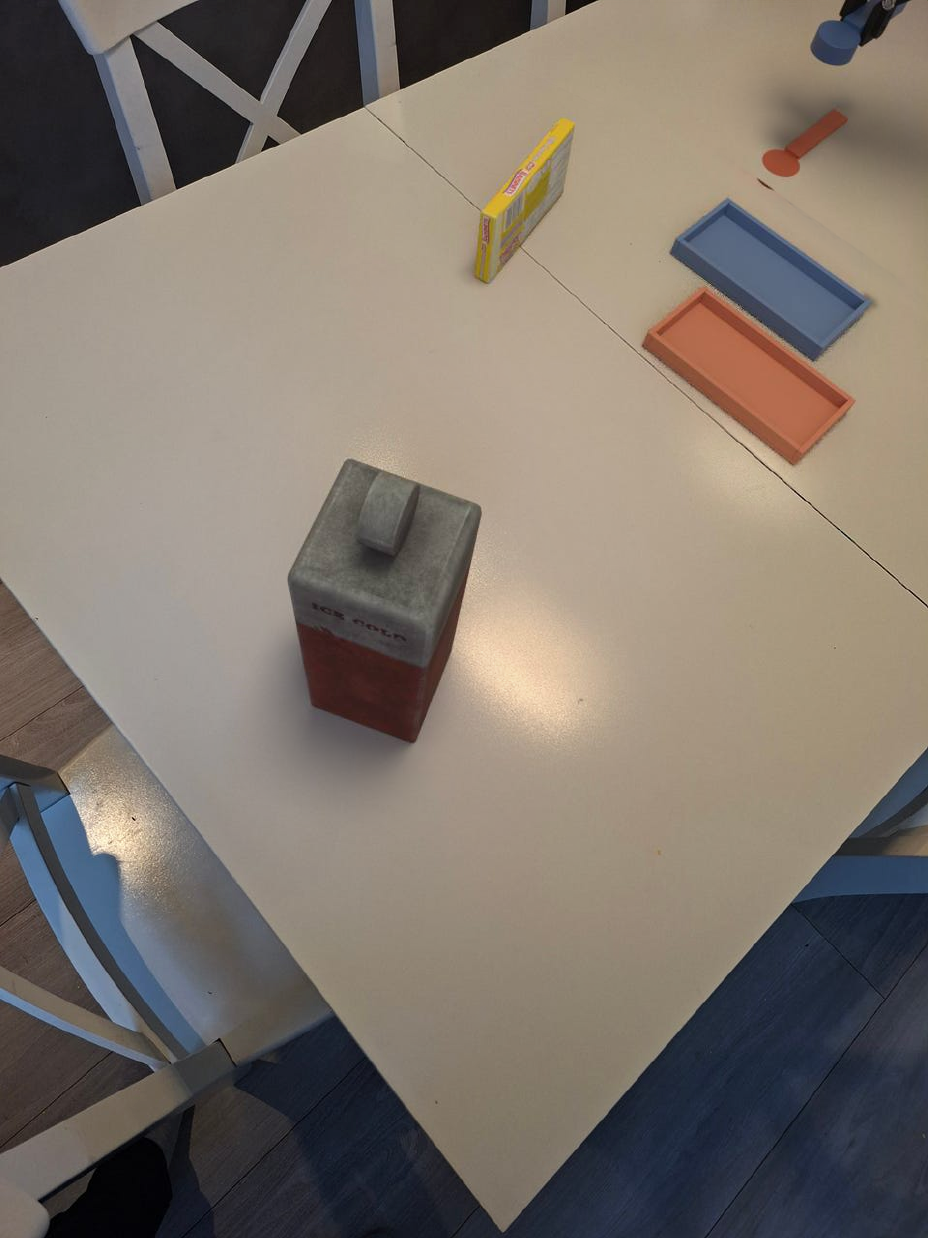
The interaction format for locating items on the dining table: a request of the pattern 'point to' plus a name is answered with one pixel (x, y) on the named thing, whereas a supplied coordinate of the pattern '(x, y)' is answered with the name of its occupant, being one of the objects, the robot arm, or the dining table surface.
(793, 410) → the terracotta tray
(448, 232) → the dining table surface
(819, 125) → the terracotta spoon
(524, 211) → the candy box
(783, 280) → the blue tray
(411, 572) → the red grey lidded canister
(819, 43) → the blue spoon
